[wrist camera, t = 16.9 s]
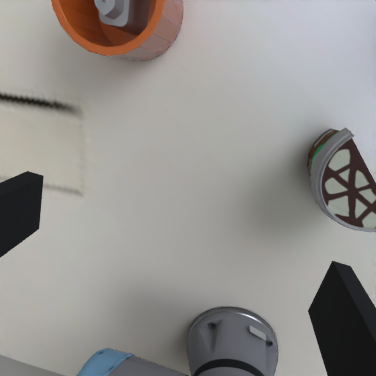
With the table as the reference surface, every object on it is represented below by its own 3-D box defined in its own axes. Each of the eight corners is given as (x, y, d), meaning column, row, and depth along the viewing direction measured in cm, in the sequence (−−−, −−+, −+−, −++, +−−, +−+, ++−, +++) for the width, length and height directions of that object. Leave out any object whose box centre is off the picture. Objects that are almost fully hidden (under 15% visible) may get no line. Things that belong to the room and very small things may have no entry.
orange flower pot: (171, 70, 41) (151, 68, 31) (88, 48, 41) (44, 39, 32) (193, -32, 37) (177, -70, 27) (100, -55, 37) (54, -100, 28)
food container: (281, 143, 42) (293, 161, 32) (325, 118, 40) (352, 130, 30) (323, 217, 44) (345, 254, 35) (366, 197, 42) (403, 230, 33)
